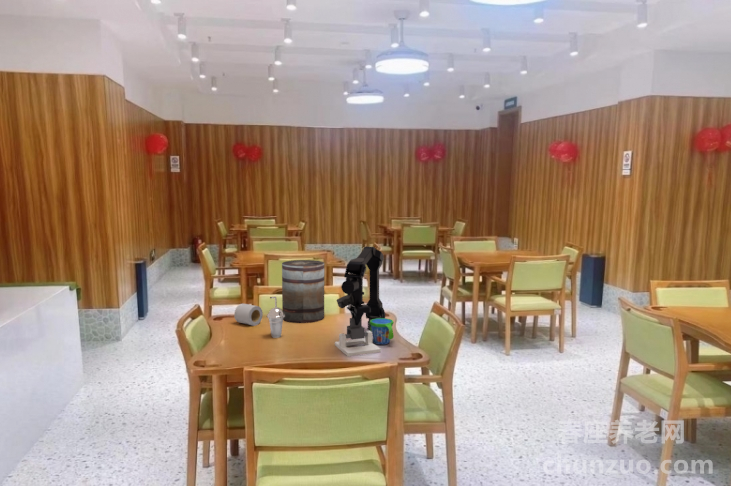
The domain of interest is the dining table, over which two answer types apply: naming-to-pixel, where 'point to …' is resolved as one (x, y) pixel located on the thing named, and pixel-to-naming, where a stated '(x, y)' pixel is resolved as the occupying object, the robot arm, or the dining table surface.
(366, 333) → the white square base
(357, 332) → the bracket
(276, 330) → the cup with straw
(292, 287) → the barrel
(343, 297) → the robot arm
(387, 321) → the snack cup
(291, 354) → the dining table surface
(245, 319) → the toilet paper
